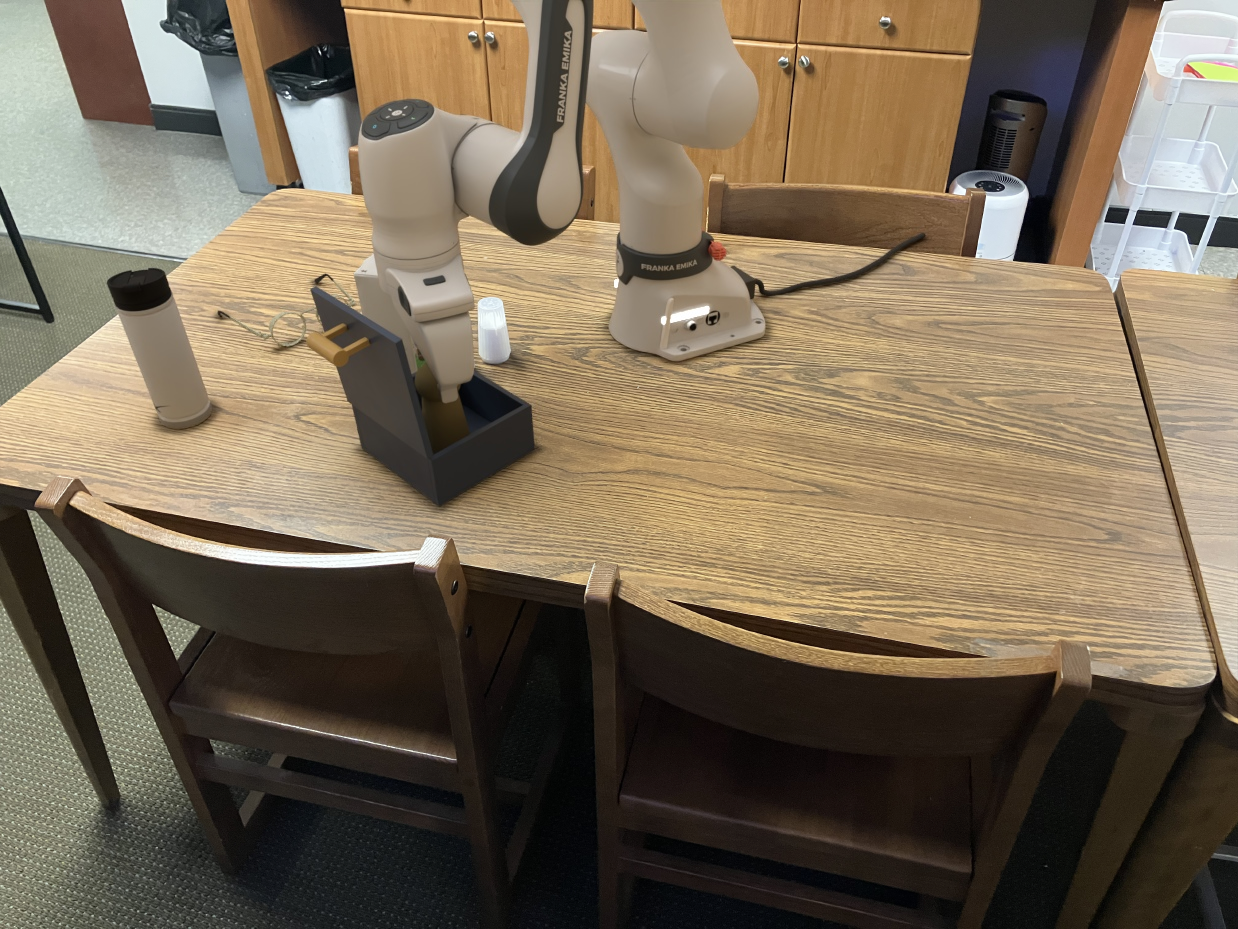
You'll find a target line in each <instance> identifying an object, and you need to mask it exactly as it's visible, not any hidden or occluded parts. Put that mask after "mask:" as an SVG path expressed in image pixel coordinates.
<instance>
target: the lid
mask: <svg viewBox="0 0 1238 929" xmlns="http://www.w3.org/2000/svg"><path fill="white" fill-rule="evenodd" d="M309 290H310V294H311V296H312V299H313V302H314V305H315V307H316V308H317V311H318V314H319V320H321V321H320V322H321V324H322V325H321V327H322V330H323V333H320V332H317V331H314V332H311V333H309V335H308V336H307V338H306V341H305V342H306V347H308V349H310V350H312V351H313V352H315V353H316V354H317V355H319V356H320V357H321V358H323V359H325V360H326V361H328V362H329V363H330V364H332V365H334V366H335V367H336V371H337V375H338V377H339V379H340V382H341V386H342V389H343V391H344V394H345V397H346V401H347V402H348V403H349V404H350V405H351V406H352V405H353V406H355V407H356V408H357V409H359V410H360V411H362V412H363V413H364V414H366V415H367V416H369V417H370V418H371V419H373V420H374V421H376V422H377V423H378V424H380V425H381V426H382V427H384V428H385V429H387V430H388V431H389V432H391V433H392V434H394V435H395V436H396V437H398V438H399V439H401V440H402V441H403V442H405V443H406V444H408V445H409V446H410V447H412V448H413V449H414V450H416V451H417V452H419V453H420V454H421V455H423V456H424V457H426V458H427V459H429V458H430V457H432V456H433V452H432V448H431V444H430V441H429V437H428V433H427V430H426V426H425V422H424V418H423V415H422V411H421V407H420V404H419V400H418V396H417V392H416V389H415V385H414V381H413V378H412V374H411V370H410V367H409V363H408V359H407V355H406V352H405V348H404V344H403V341H402V339H401V338H399V337H398V336H396V335H395V334H393V333H391V332H390V331H388V330H386V329H385V328H383V327H382V326H380V325H378V324H377V323H375V322H373V321H372V320H370V319H369V318H367V317H365V316H364V315H362V312H359V311H357V310H356V309H354V308H353V307H352V306H351V307H349V306H348V305H347V303H345V302H344V301H341V300H340V299H339V298H337V297H333V296H331V295H332V294H330V293H328V292H327V291H325V290H323V289H322V288H320V287H319V286H317V285H316V286H313V287H312V288H310V289H309Z"/></svg>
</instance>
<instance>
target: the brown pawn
mask: <svg viewBox="0 0 1238 929" xmlns="http://www.w3.org/2000/svg"><path fill="white" fill-rule="evenodd" d="M437 384H438V382H437V380H436V378H435V377H434V375H433V373H432V371H431V370H430V368H429V366H428V365H427V363H426V364H424V365H422V366H421V367H420V368H419V369H418V370H417V372H416V374H415V387H416V389H417V391H418V393H419V394H420V395H421V396H422V415H423V418H424V422H425V426H426V430H427V433H428V437H429V441H430V444H431V448H432V452H433V455H434V454H436V453H438V452H439V451H441V450H443V449H445V448H447V447H449V446H450V445H452V444H454V443H456V442H458V441H459V440H461V439H463V438H465V437H467V436H468V435H470V431H469V427H468V424H467V421H466V417H465V414H464V411H463V407H462V404H461V400H460V397H459V394H458V399H457V400H456V401H453V402H449V403H443V402H442V400H441V398H440V396H439V394H438V387H437ZM460 385H461V384H458V385H457V393H458V390H459V389H460Z"/></svg>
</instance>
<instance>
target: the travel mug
mask: <svg viewBox="0 0 1238 929" xmlns="http://www.w3.org/2000/svg"><path fill="white" fill-rule="evenodd" d="M106 285H107V288H108V290H109V293H110V295H111V298H112V299H113V303H114V304H113V305H114V307H115V310H116V312H117V315H118V317H119V320H120V324H121V326H122V328H123V330H124V332H125V335H126V337H127V341H128V343H129V345H130V348H131V350H132V353H133V355H134V356H133V357H134V358H135V361H136V363H137V366H138V368H139V370H140V374H141V376H142V379H143V381H144V384H145V386H146V389H147V391H148V394H149V396H150V398H151V401H152V404H153V407H154V409H155V412H156V414H157V417H158V419H159V422H160V424H161V425H163V426H164V427H166V428H168V429H173V430H183V429H188V428H193V427H195V426H198V425H199V424H201V423H203V422H204V421H206V420H207V419H208V418H209V417H210V415H211V414H212V411H213V406H212V403H211V401H210V398H209V395H208V392H207V388H206V385H205V382H204V380H203V377H202V375H201V371H200V368H199V366H198V362H197V360H196V357H195V354H194V351H193V348H192V345H191V343H190V339H189V336H188V334H187V331H186V327H185V325H184V322H183V319H182V316H181V313H180V310H179V308H178V304H177V302H176V299H175V297H174V293H173V291H172V289H171V286H170V282H169V280H168V277H167V275H166V271H165V270H163V269H162V268H158V267H148V268H147V269H137V270H132V269H129V270H125V271H122V272H119V273H117V274H113V275H112V276H110V277H109V278H108V279H107V280H106Z"/></svg>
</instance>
